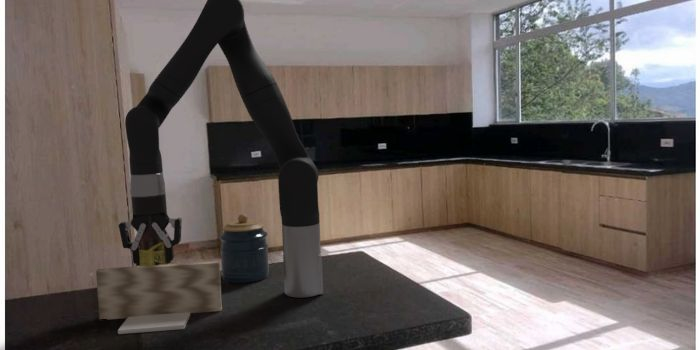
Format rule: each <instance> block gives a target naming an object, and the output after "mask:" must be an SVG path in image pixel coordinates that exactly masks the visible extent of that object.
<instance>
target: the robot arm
mask: <svg viewBox="0 0 700 350" xmlns="http://www.w3.org/2000/svg"><path fill="white" fill-rule="evenodd" d="M245 21H246V20H245V9H244V6H243V3H242V1H241V0H206V2H205V4H204V6H203V8H202V10H201V12H200V14H199V15H198V18H197V20H196V22H195V23H194V25H193V27H192V28H191V30H190V32H189V34H188V35H187V36H186V38H185V39H184V41H183V42H182V44H180V47H179V48H178V49H177V51H176V52H175V53H174V55H173V56H172V57H171V58H170V59H169V60H168V62H167V63H166V64H165V66H164V67H163V69H161V71H160V72H159V74H158V75H157V76H156V77H155V79H154V80H153V81H152V83H151V84H150V86H149V88H148V91H147V93H145V96H144V97H142V98H141V100H140V101H139V103H138V104H137V105H136V106H134V107H133V108H131V109H130V110H129V111H128V112H127V113H126V115H125V119H124V120H125V121H124V122H125V123H124V124H125V126H124V127H125V132H126V139H127V144H128V151H129V159H128V161H129V169H130V170H129V171H130V181H129V182H130V184H129V186H130V187H129V188H130V189H129V193H130V201H131V211H132V212H131V213H132V218H131V220H130V221H121V222H120V223H119V224H118V230H119V233H120V239H121V243H122V244H121V245H122V247H123V248H124V249H129V250H131V253H132V262H133V264H134V265H135V267H136V266H140V263H139V242H140V239H141V237H142V235H143V233H144V231H145V228H146V222H145V216H147V215H154V220H155V221H154V223H153V224H152V227H153V228H154V230H155V231H156V232H157V234H158V236H159V237H160V239H161V240H163V242H164V244H165V245H166V248H165V249H166V262H167V264H172V261H173V260H174V257H175V255H174V246H176V245H177V246H178V245H179V244H180V242H181V240H182V223H183V222H182V218H181V217H177V218H171V217H170V216H169V215H168V211H167V209H168V208H167V196H166V194H167V193H166V184H165V183H166V182H165V178H164V173H163V172H164V171H163V168H164V167H163V160H162V159H163V158H162V154H161V150H160V135H159V134H160V132H159V129H160V127H161V126H162V125H163V123H164V122H165V120H166V118H167V117H168V115H169V114H170V112H171V110H172V109H174V107H175V106H176V105H177V104H178V103H179V101H181V99H182V98H183V96H184V95H185V94H186V93H187V91H188V90H189V89H190V87H191V86H192V85H193V83H194V81H195V80H196V78H197V76H198V74H199V73H200V70H201V69H202V67H203V65H204V64H205V62H206V60H208V57H209V56H210V54H211V53H212V52H213V50H214V49H215V48H216V47H217V45H218V46H219V48H220V49H221V52H223V53H222V54H223V55H224V56H225V59H226V60H227V62H228V65H229V68H230V70H231V74H232V76H233V80H234V82H235V87H236V88H237V90H238V93H239V95H240V97H241V100H242V102H243V105H244V107H245V108H246V111H247V113H248V115H249V116H250V118H251V120H252V122H253V123H254V124H255V126H256V128H257V129H258V131H259V132H260V134H261V135H262V136H263V137H264V139H265V141H266V142H267V143H268V145H269V146H270V148H271V151H272V152H273V154H274V157H275V159H276V163H277V164H278V167H279V172H278V179H277V180H278V186H277V187H278V198H279V199H278V202H279V203H278V204H279V213H280V218H281V231H282V232H281V234H282V235H281V237H282V255H283V256H282V258H283V280H284V281H283V284H284V285H283V286H284V295H286V296H287V297H289V298H290V297H292V298H310V297H315V296H318V295H323V294H324V283H323V257H322V254H321V253H322V251H321V224H320V222H321V221H320V209H319V192H318V189H319V188H318V182H319V171H318V168H317V166H316V165H315V163H314V161H313V159H312V158H311V157H310V155H309V153H308V151H307V150H306V148H305V146H304V145H303V142H302V141H301V139H300V137H299V135H298V133H297V131H296V128H295V125H294V121H293V118H292V116H291V113H290V109H289V108H288V106H287V102H286V100H285V99H284V95H283V93H282V92H281V90H280V87H279V85H278V83H277V80H275V77H274V75H273V74H272V72H271V71H270V69H269V68H268V66H267V65H266V63H265V62H264V61H263V59H262V58H261V57H260V55H259V53H258V52H257V50H256V48H255V46H254V44H253V41H252V38H251V36H250V34H249V30H248V29H247V28H248V27H247V24H246V22H245ZM169 224H170V225H171V227H172V228H173V239H171V237H170V235H169V233H168V231H167V230H166V228H167V227H168V225H169ZM131 227H132V228H133V229H134V230H135V231H136V232H137V233H136V235H135V237H134V239H133V242H131V238H130V233H129V231H130V230H131ZM161 234H162V235H161Z"/></svg>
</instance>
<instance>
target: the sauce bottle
mask: <svg viewBox="0 0 700 350" xmlns="http://www.w3.org/2000/svg"><path fill="white" fill-rule="evenodd" d="M154 221H155V220H154V215H147V216H145V222H146V228H145V231H144V233H143V235H142V237H141V239H140V242H139V263H140V266H152V265H167V262H166V249H165V248H166V245H165V244H164V242H163V240H161V239H160V237H159V236H158V234H157V232H156V231H155V230H154V228H153V227H152V224H153V223H154ZM161 235H162V234H161Z"/></svg>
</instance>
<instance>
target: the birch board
mask: <svg viewBox="0 0 700 350" xmlns="http://www.w3.org/2000/svg"><path fill="white" fill-rule="evenodd" d="M220 268H221V266H220V261H219V260H217V261H215V260H214V261H204V262H203V261H202V262H200V261H199V262H188V263H187V262H186V263H185V262H184V263H169V264H167V265H152V266H136V265H135V266H122V267H121V266H120V267H108V268H107V267H105V268H98V269H96V270H95V273H96V277H95V278H96V287H97V301H98V304H97V305H98V317H99V320H100V319H107V320H118V319H119V320H120V319H127V318H128V317H133V316H146V315H159V314H173V313H186V312H190V314H196V313H197V314H199V313H209V312H222V310H223V303H222V285H221V269H220Z"/></svg>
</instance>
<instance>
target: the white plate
mask: <svg viewBox="0 0 700 350" xmlns="http://www.w3.org/2000/svg"><path fill="white" fill-rule="evenodd" d="M190 317H191V313H190V312H186V313H173V314H159V315H146V316H133V317H128V318H125V320H124V322H123V323H122V324H121V325H120V327H119V328H118V330H117V334H118V335H123V334H124V335H125V334H127V335H128V334H137V333H138V334H139V333H149V332H162V331H175V330H176V331H177V330H185V328H186V326H187V324H188V322H189V319H190Z"/></svg>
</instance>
